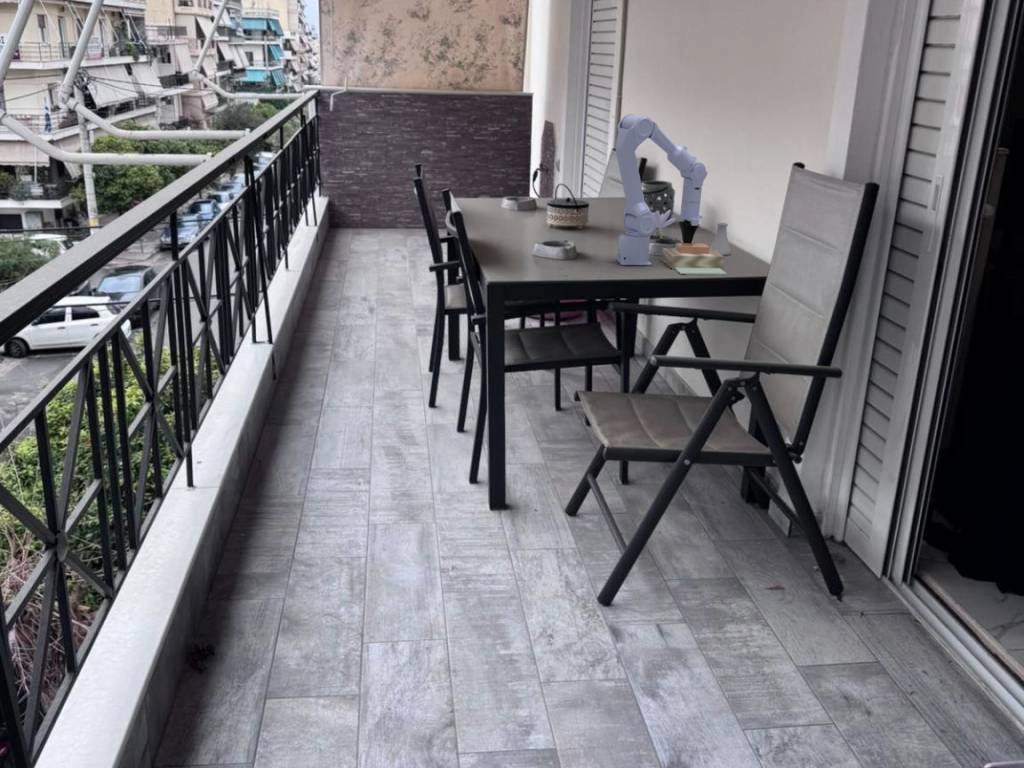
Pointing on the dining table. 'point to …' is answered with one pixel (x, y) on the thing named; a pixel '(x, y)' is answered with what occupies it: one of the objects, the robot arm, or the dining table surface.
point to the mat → (700, 271)
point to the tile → (692, 248)
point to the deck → (692, 259)
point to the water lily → (661, 221)
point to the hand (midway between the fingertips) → (686, 244)
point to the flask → (721, 240)
